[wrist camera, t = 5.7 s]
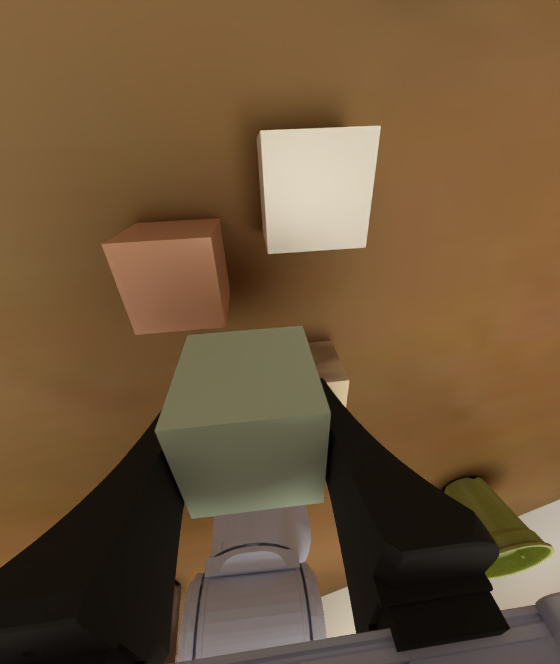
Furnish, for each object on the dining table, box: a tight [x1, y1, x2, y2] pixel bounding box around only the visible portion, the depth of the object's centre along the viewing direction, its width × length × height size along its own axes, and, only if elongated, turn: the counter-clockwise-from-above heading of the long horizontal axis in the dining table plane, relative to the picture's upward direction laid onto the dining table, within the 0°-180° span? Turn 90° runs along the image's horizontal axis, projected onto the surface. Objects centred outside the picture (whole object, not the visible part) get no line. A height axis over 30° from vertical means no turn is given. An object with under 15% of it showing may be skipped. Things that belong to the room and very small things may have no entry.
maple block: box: [308, 340, 349, 407], centre depth 22 cm, size 5×5×5 cm
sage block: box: [155, 326, 331, 519], centre depth 11 cm, size 5×5×5 cm
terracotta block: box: [101, 218, 230, 335], centre depth 16 cm, size 5×5×5 cm
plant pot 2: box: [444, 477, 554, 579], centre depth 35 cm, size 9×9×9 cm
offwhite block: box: [256, 126, 381, 254], centre depth 15 cm, size 5×5×5 cm
